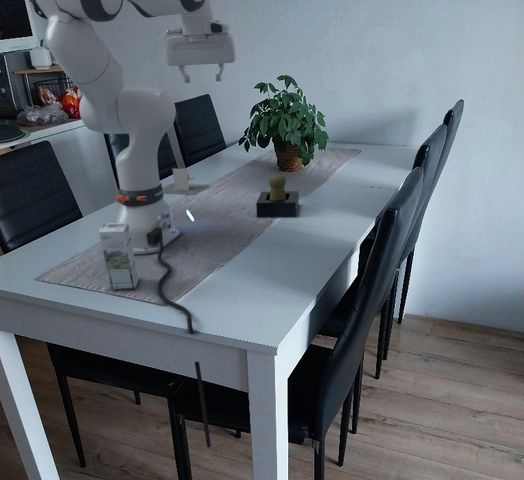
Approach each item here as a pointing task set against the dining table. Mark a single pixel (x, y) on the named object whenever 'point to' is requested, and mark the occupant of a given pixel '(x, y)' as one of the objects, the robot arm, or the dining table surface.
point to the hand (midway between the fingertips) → (203, 81)
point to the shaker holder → (278, 205)
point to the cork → (277, 187)
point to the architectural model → (182, 183)
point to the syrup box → (119, 255)
